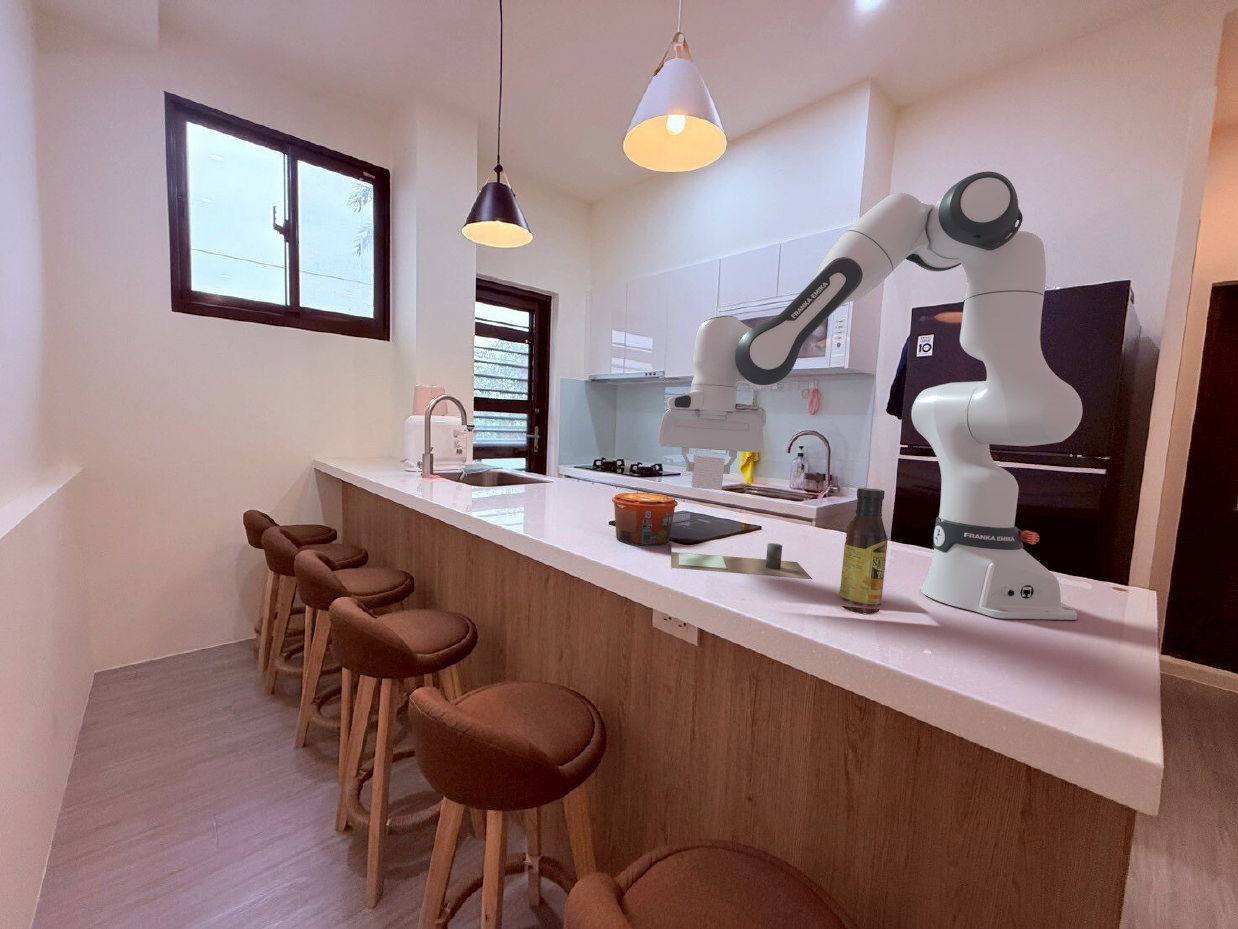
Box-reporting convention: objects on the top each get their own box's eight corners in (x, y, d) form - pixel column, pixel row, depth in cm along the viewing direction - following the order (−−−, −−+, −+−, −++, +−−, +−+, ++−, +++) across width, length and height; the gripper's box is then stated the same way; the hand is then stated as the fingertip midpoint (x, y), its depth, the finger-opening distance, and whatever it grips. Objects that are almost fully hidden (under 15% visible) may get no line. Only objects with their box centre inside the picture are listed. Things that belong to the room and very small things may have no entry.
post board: (796, 568, 107) (798, 540, 107) (811, 586, 95) (814, 555, 95) (671, 558, 110) (672, 531, 109) (670, 575, 98) (672, 544, 97)
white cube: (719, 487, 104) (721, 457, 104) (721, 490, 99) (724, 459, 98) (691, 484, 105) (693, 455, 104) (692, 487, 99) (695, 456, 99)
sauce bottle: (876, 619, 81) (888, 493, 79) (834, 608, 84) (845, 488, 83) (884, 608, 86) (895, 489, 84) (844, 599, 90) (854, 485, 88)
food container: (686, 540, 129) (689, 497, 128) (654, 551, 115) (657, 504, 115) (632, 530, 137) (634, 490, 137) (596, 539, 124) (599, 495, 123)
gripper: (764, 405, 103) (758, 474, 104) (661, 399, 105) (656, 467, 106) (770, 404, 97) (763, 478, 98) (660, 398, 99) (655, 470, 100)
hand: (707, 472), depth 102 cm, fingers closed on white cube, 6 cm apart
